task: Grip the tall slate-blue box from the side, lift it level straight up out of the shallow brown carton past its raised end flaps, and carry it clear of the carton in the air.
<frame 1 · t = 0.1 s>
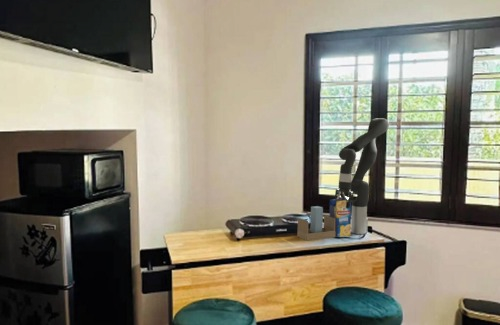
hand: (343, 207, 233), 17 cm above the table, tool pointing down, fingers open, 8 cm apart
slate box: (316, 236, 225), point 1 cm above the table, touching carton
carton: (316, 237, 225), on the table
blue food box: (339, 235, 232), on the table
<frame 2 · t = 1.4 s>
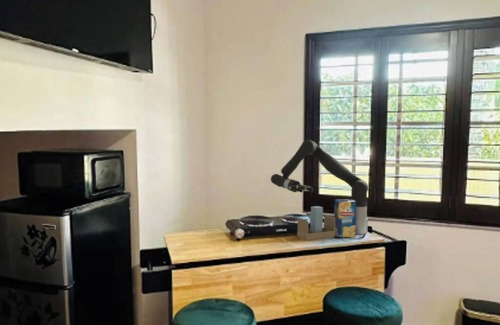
hand: (307, 190, 232), 27 cm above the table, tool horizontal, fingers open, 8 cm apart
blue food box: (344, 236, 230), on the table
everything else where it was.
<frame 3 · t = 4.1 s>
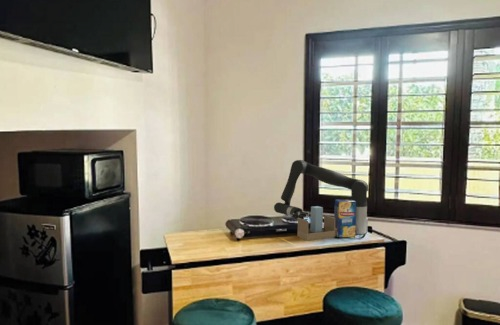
hand: (309, 217, 231), 11 cm above the table, tool horizontal, fingers open, 8 cm apart
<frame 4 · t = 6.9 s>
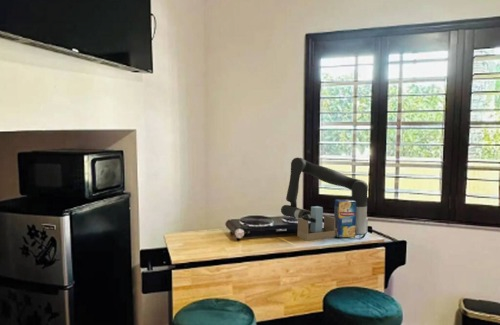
hand: (319, 220, 222), 11 cm above the table, tool horizontal, fingers closed on slate box, 5 cm apart
slate box: (316, 236, 225), point 1 cm above the table, touching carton, gripper
everything else where it was.
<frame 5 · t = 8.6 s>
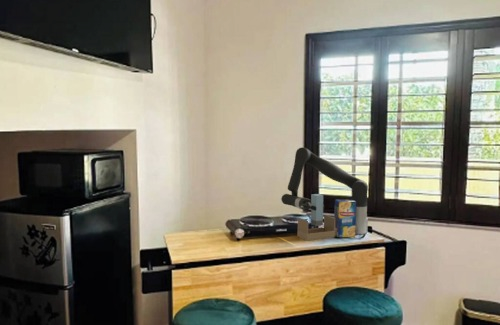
hand: (319, 208, 222), 18 cm above the table, tool horizontal, fingers closed on slate box, 5 cm apart
slate box: (316, 224, 225), point 8 cm above the table, touching gripper
everything else where it was.
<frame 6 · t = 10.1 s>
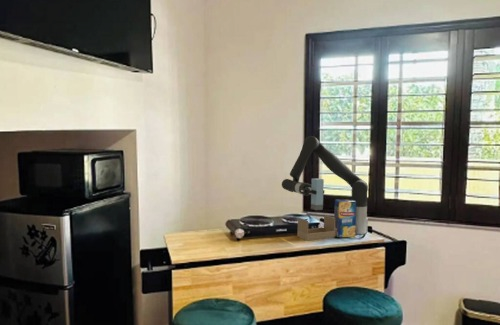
hand: (320, 192, 221), 28 cm above the table, tool horizontal, fingers closed on slate box, 5 cm apart
slate box: (316, 209, 224), point 17 cm above the table, touching gripper
everything else where it was.
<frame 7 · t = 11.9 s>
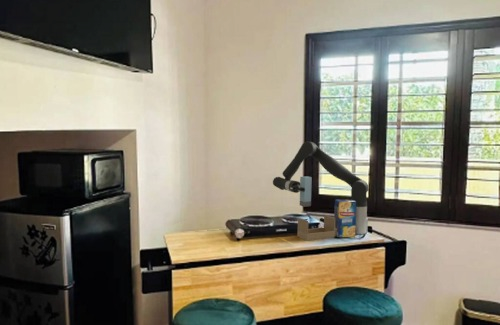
hand: (308, 189, 232), 28 cm above the table, tool horizontal, fingers closed on slate box, 5 cm apart
slate box: (305, 205, 235), point 17 cm above the table, touching gripper
everything else where it was.
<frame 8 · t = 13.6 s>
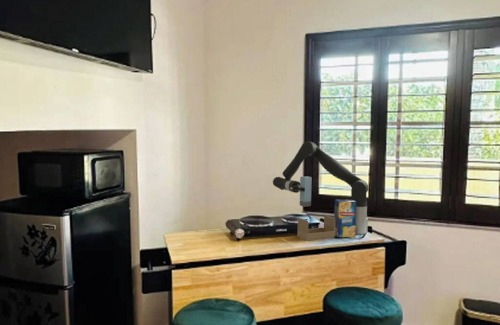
hand: (308, 189, 232), 28 cm above the table, tool horizontal, fingers closed on slate box, 5 cm apart
slate box: (305, 205, 235), point 17 cm above the table, touching gripper
everything else where it was.
at the end: slate box inside the target area (0.0 cm from its centre), point 17.4 cm above the table; slate box tilted 0°; the gripper is holding slate box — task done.
